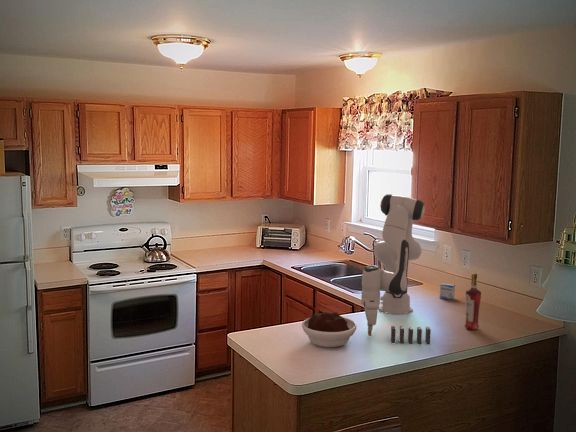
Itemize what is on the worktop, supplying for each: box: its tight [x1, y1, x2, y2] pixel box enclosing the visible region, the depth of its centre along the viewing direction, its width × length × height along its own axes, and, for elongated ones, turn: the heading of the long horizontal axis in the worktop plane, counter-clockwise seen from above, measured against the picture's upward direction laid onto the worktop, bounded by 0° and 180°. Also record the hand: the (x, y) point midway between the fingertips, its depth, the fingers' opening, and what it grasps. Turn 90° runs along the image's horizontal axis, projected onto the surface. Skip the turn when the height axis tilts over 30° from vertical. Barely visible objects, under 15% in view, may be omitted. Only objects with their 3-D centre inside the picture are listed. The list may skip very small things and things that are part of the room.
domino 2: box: [390, 325, 396, 344], centre depth 275 cm, size 4×1×7 cm, turn 178°
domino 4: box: [407, 325, 414, 345], centre depth 275 cm, size 4×1×7 cm, turn 178°
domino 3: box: [399, 325, 405, 345], centre depth 275 cm, size 4×1×7 cm, turn 178°
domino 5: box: [416, 326, 423, 345], centre depth 274 cm, size 4×1×7 cm, turn 178°
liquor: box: [464, 272, 482, 331], centre depth 294 cm, size 7×7×28 cm
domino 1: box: [367, 325, 373, 337], centre depth 282 cm, size 4×1×7 cm, turn 177°
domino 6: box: [424, 326, 432, 345], centre depth 274 cm, size 4×1×7 cm, turn 178°
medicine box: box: [439, 282, 456, 301], centre depth 349 cm, size 8×4×9 cm, turn 62°
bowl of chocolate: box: [301, 311, 357, 348], centre depth 272 cm, size 25×25×15 cm
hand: (369, 328), depth 282 cm, fingers closed on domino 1, 4 cm apart
